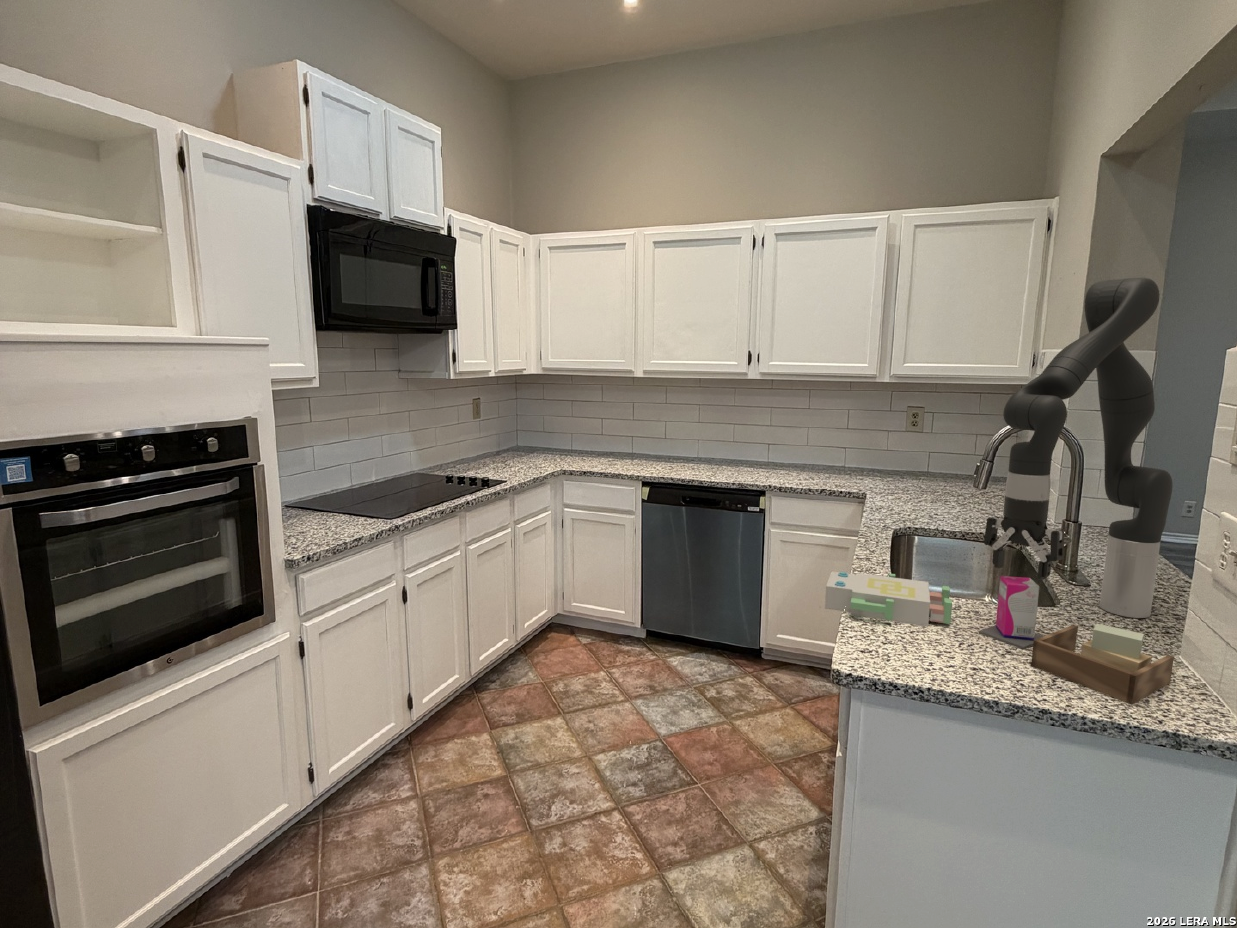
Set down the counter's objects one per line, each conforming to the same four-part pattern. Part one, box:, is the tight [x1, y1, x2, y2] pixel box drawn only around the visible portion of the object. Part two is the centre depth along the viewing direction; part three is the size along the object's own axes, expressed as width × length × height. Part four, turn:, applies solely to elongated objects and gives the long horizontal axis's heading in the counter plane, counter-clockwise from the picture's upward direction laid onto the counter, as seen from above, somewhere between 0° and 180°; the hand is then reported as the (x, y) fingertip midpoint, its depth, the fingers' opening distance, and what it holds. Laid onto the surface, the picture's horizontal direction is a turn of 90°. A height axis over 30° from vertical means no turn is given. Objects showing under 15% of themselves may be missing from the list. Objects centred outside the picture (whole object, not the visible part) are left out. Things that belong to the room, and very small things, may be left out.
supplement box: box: [995, 575, 1040, 640], centre depth 133 cm, size 6×6×12 cm
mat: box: [978, 624, 1045, 650], centre depth 134 cm, size 9×9×1 cm
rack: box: [1030, 624, 1175, 705], centre depth 117 cm, size 14×16×5 cm
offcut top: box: [1091, 623, 1145, 659], centre depth 119 cm, size 4×7×4 cm, turn 47°
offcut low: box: [1080, 639, 1153, 673], centre depth 120 cm, size 5×9×4 cm, turn 30°
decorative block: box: [824, 571, 953, 627], centre depth 148 cm, size 26×6×20 cm
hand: (1019, 572), depth 132 cm, fingers open, 8 cm apart
